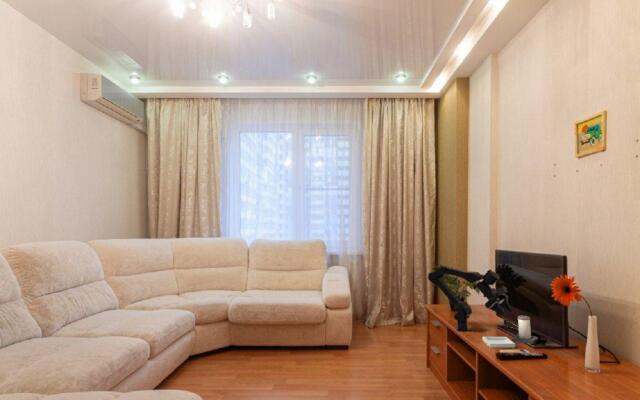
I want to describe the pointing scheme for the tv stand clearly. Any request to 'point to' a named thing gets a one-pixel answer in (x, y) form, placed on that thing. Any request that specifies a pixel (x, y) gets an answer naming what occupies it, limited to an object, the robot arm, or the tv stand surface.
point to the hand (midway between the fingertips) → (508, 313)
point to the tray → (498, 342)
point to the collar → (523, 341)
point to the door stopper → (509, 324)
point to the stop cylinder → (524, 327)
